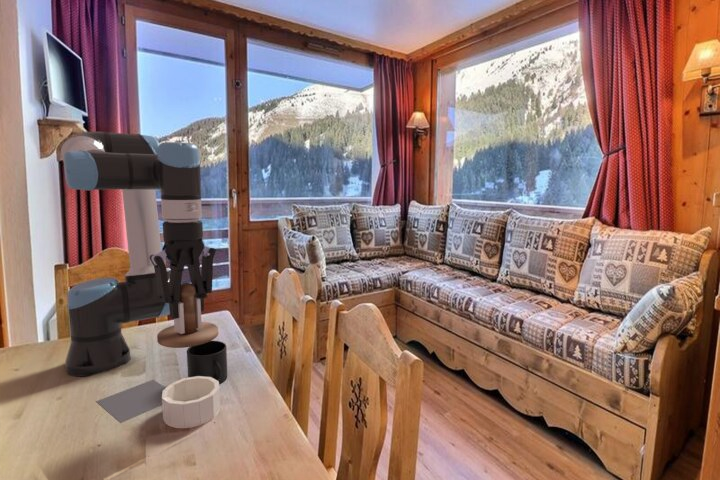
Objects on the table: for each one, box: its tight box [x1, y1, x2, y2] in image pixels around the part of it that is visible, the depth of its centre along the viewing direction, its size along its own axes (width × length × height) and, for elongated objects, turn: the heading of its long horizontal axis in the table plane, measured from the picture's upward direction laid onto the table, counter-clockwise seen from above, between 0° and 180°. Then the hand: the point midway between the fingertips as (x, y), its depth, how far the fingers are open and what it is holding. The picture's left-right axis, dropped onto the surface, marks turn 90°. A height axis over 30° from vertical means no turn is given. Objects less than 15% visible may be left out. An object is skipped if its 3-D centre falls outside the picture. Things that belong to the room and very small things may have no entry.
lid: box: [156, 281, 219, 349], centre depth 85 cm, size 12×12×12 cm
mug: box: [186, 340, 228, 386], centre depth 102 cm, size 9×12×9 cm
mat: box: [95, 379, 167, 424], centre depth 93 cm, size 13×13×1 cm
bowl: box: [161, 376, 221, 429], centre depth 88 cm, size 12×12×6 cm
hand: (188, 329), depth 86 cm, fingers closed on lid, 3 cm apart
